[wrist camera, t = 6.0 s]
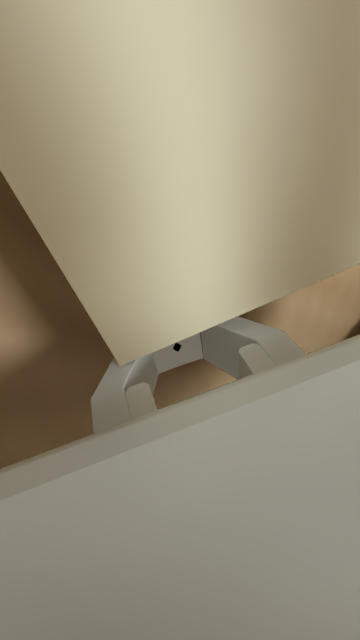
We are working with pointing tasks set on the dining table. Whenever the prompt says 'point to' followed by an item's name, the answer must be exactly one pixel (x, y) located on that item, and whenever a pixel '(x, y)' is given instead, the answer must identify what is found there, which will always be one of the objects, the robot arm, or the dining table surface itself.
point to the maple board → (183, 153)
